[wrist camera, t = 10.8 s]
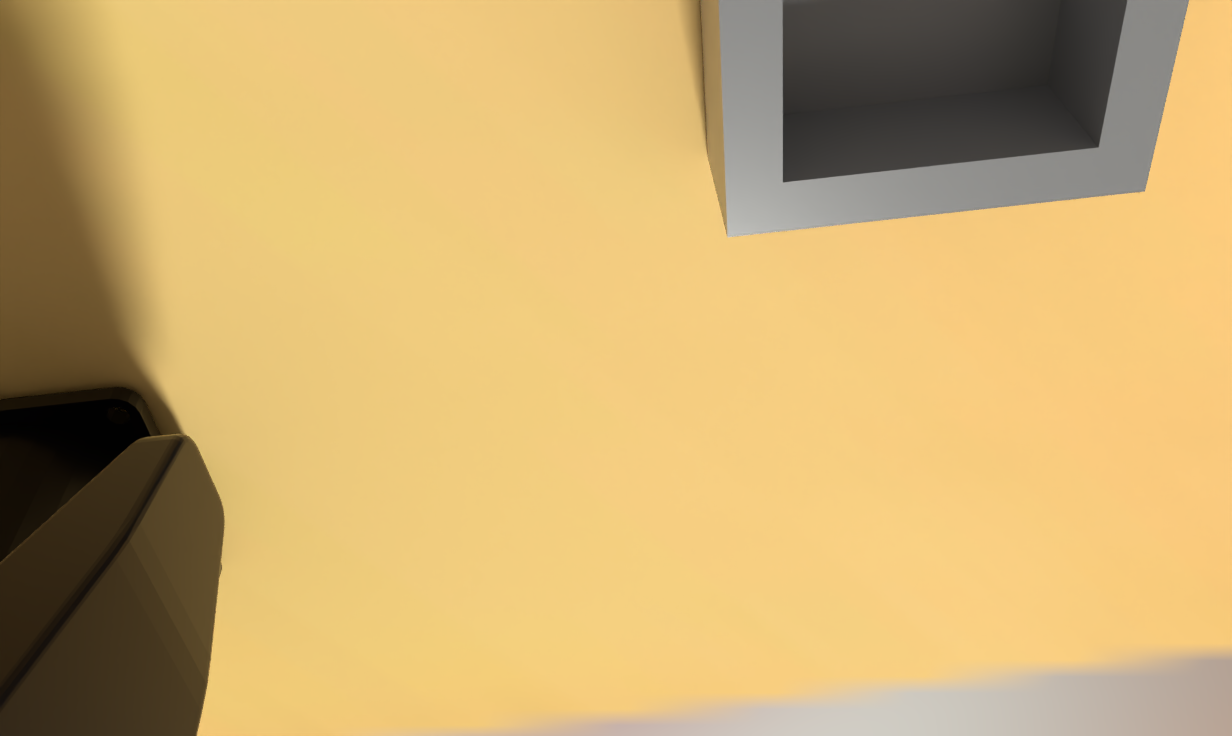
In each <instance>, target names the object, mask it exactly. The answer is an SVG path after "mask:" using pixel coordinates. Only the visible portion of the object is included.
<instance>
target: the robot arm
mask: <svg viewBox="0 0 1232 736" xmlns="http://www.w3.org/2000/svg"><path fill="white" fill-rule="evenodd" d="M114 407H120V408H122V409H124V410H126V411H127V412H120V411H118V410H116V409H115V408H114ZM223 536H224V511H223V506H222V502H221V499H220V497H219V494H218V492H217V490H216V488H215V485H214V483H213V481H212V479H211V476H210V474H209V472H208V470H207V468H206V465H205V463H204V461H203V459H202V456H201V454H200V452H199V450H198V448H197V446H196V444H195V442H194V441H193V440H192V439H191V438H190V437H189V436H187V435H184V434H170V435H161V434H160V432H159V430H158V428H157V426H156V424H155V422H154V420H153V418H152V415H151V413H150V411H149V409H148V407H147V405H146V403H145V401H144V400H143V398H142V397H141V396H140V395H139V394H137V393H136V392H134V391H133V390H130V389H127V388H123V387H112V388H103V389H94V390H84V391H75V392H66V393H57V394H48V395H38V396H29V397H20V398H11V399H2V400H0V736H197V731H198V727H199V723H200V718H201V714H202V709H203V704H204V699H205V694H206V689H207V683H208V676H209V668H210V661H211V652H212V642H213V632H214V623H215V613H216V603H217V594H218V584H219V577H220V574H221V570H222V564H221V555H222V546H223Z"/></svg>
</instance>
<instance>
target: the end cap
mask: <svg viewBox="0 0 1232 736" xmlns="http://www.w3.org/2000/svg"><path fill="white" fill-rule="evenodd" d="M1188 2H1189V0H700V6H701V27H702V48H703V69H704V89H705V110H706V131H707V152H708V160H709V164H710V168H711V172H712V176H713V180H714V184H715V188H716V192H717V197H718V201H719V205H720V209H721V213H722V217H723V221H724V225H725V229H726V233H727V237H734V236H743V235H752V234H762V233H771V232H780V231H789V230H798V229H807V228H816V227H825V226H834V225H843V224H852V223H861V222H870V221H880V220H889V219H898V218H907V217H916V216H925V215H934V214H943V213H952V212H961V211H970V210H979V209H988V208H998V207H1007V206H1016V205H1025V204H1034V203H1043V202H1052V201H1061V200H1070V199H1079V198H1088V197H1097V196H1106V195H1115V194H1125V193H1134V192H1143V191H1145V188H1146V184H1147V180H1148V175H1149V171H1150V167H1151V162H1152V158H1153V154H1154V149H1155V145H1156V141H1157V136H1158V132H1159V128H1160V123H1161V119H1162V115H1163V110H1164V106H1165V102H1166V97H1167V93H1168V89H1169V84H1170V80H1171V76H1172V71H1173V67H1174V63H1175V58H1176V54H1177V50H1178V45H1179V41H1180V37H1181V32H1182V28H1183V24H1184V19H1185V15H1186V11H1187V6H1188Z"/></svg>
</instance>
